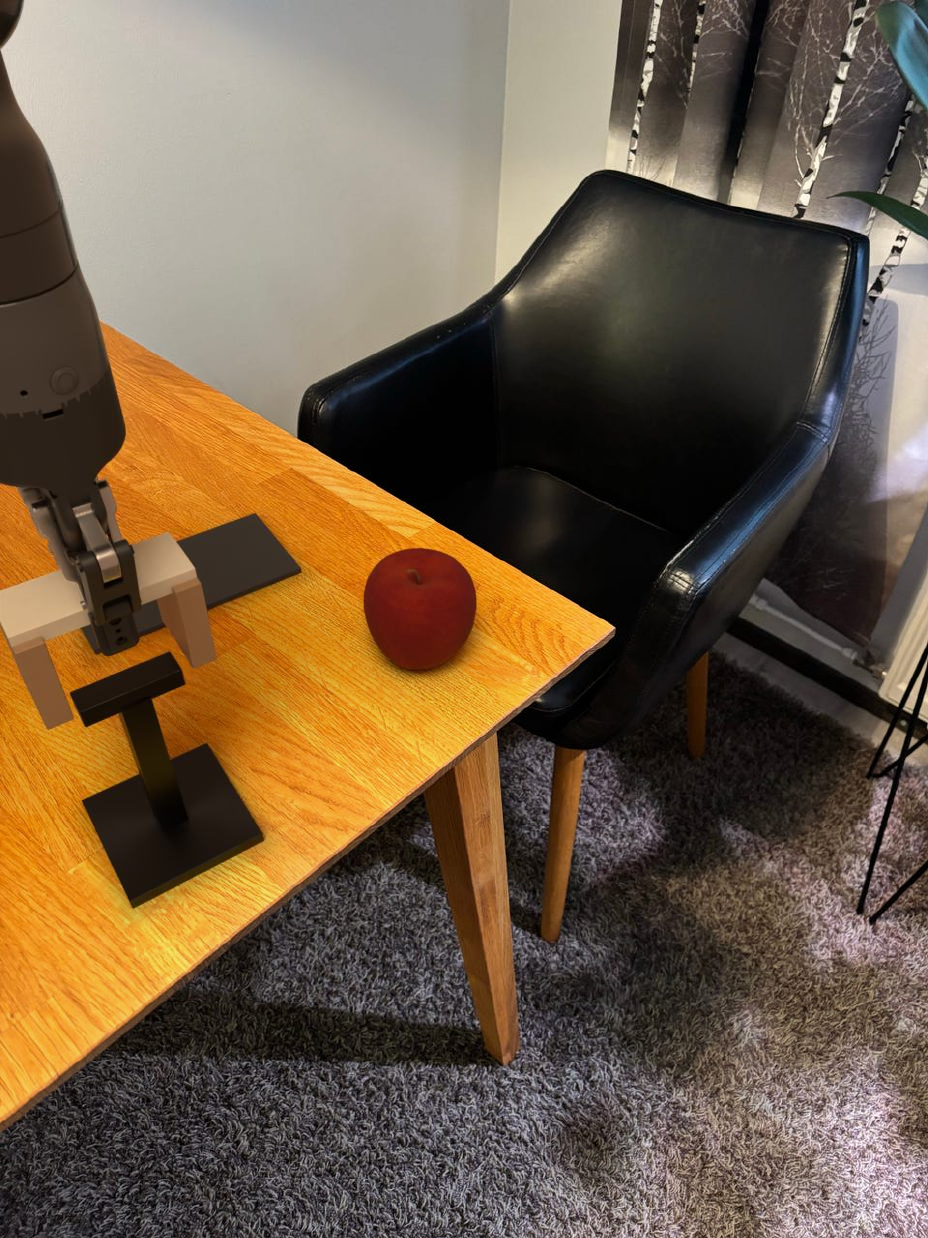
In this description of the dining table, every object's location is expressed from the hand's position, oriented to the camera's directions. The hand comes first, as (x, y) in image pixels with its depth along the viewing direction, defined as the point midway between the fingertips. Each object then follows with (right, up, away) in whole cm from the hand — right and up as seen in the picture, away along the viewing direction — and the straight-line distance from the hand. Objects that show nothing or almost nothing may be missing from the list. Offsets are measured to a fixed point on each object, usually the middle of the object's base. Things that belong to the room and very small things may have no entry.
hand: (106, 623), depth 57 cm
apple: (+17, -3, +28) cm, 33 cm away
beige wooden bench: (0, -3, +3) cm, 4 cm away
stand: (-1, -15, +15) cm, 21 cm away
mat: (-5, +4, +34) cm, 35 cm away
